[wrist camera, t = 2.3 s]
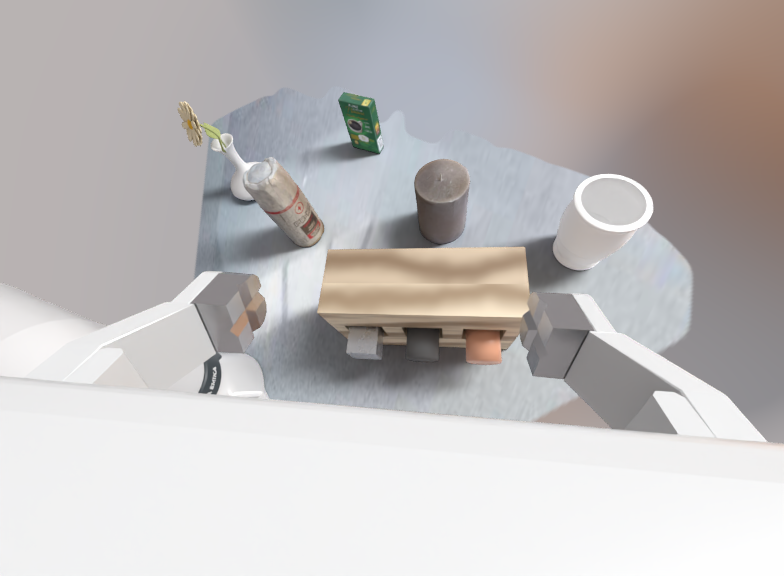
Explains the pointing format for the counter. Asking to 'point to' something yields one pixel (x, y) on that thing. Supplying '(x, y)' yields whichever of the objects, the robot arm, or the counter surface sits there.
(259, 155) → the counter surface
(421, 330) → the dark grey cylinder
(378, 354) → the gray metal cube
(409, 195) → the counter surface
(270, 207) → the paper wrapped package
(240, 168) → the flower in vase
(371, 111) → the coffee box
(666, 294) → the counter surface
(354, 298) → the wooden holder box
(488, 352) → the terracotta button
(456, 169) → the pillar candle
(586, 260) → the jar
